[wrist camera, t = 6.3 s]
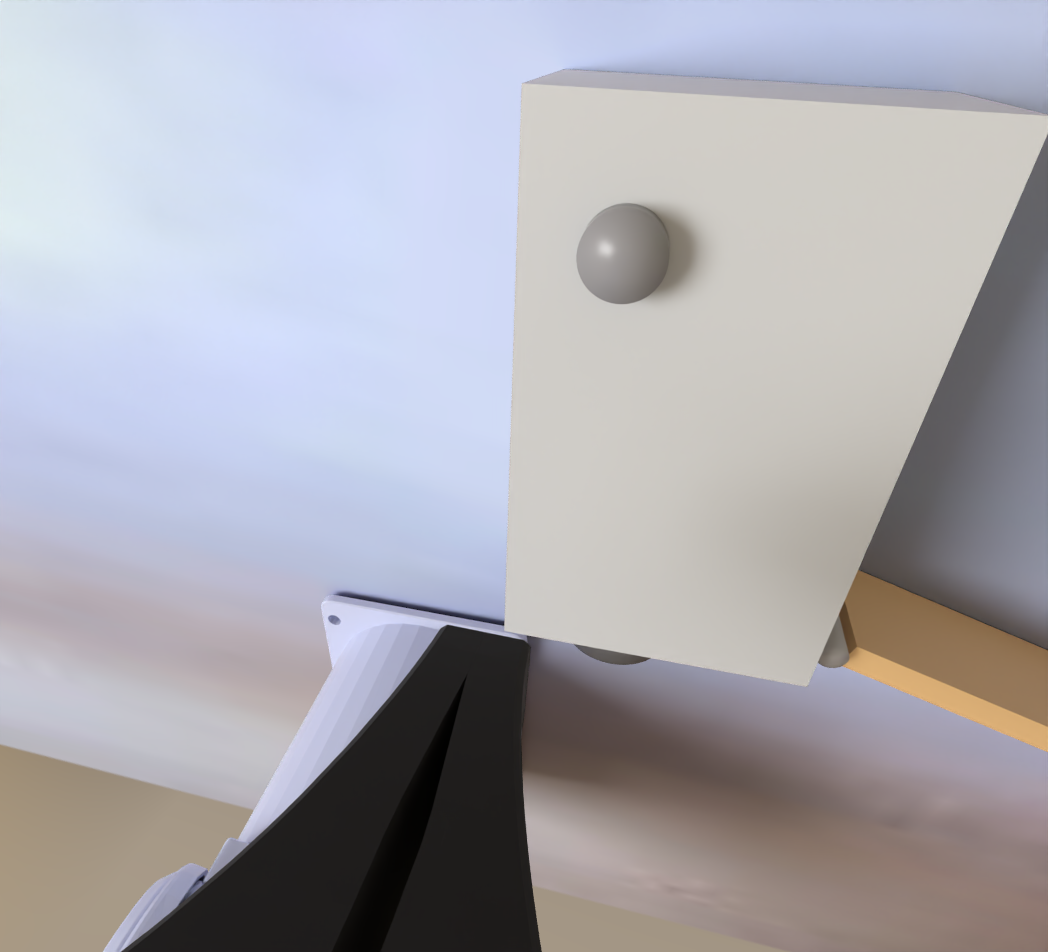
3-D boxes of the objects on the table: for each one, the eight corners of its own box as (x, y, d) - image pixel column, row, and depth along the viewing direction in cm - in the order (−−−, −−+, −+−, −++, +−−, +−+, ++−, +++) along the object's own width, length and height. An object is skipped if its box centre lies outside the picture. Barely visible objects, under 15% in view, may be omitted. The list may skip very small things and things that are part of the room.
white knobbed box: (778, 598, 21) (799, 735, 17) (533, 557, 23) (498, 676, 18) (958, 92, 13) (1079, 121, 9) (563, 69, 15) (513, 85, 10)
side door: (791, 565, 21) (809, 660, 18) (806, 548, 20) (827, 642, 17) (1077, 686, 21) (1143, 800, 18) (1098, 671, 20) (1170, 786, 17)
